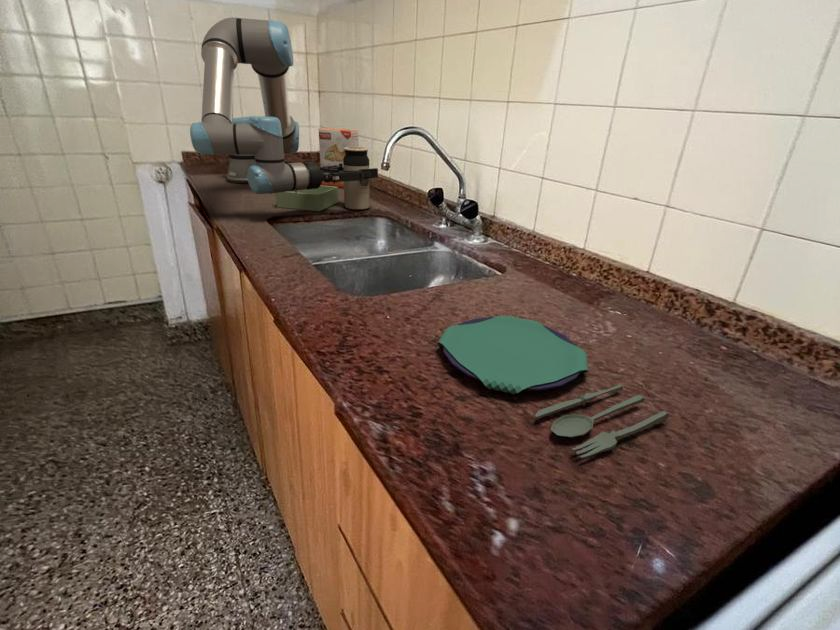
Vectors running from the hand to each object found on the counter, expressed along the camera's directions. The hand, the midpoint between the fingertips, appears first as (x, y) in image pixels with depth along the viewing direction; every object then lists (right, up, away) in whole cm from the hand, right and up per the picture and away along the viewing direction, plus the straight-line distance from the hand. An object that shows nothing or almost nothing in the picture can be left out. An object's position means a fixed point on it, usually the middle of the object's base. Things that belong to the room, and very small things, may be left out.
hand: (369, 170), depth 143 cm
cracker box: (-15, +4, +33) cm, 37 cm away
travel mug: (-4, -11, +2) cm, 12 cm away
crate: (-20, -10, +4) cm, 23 cm away
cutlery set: (+32, -54, -82) cm, 103 cm away
